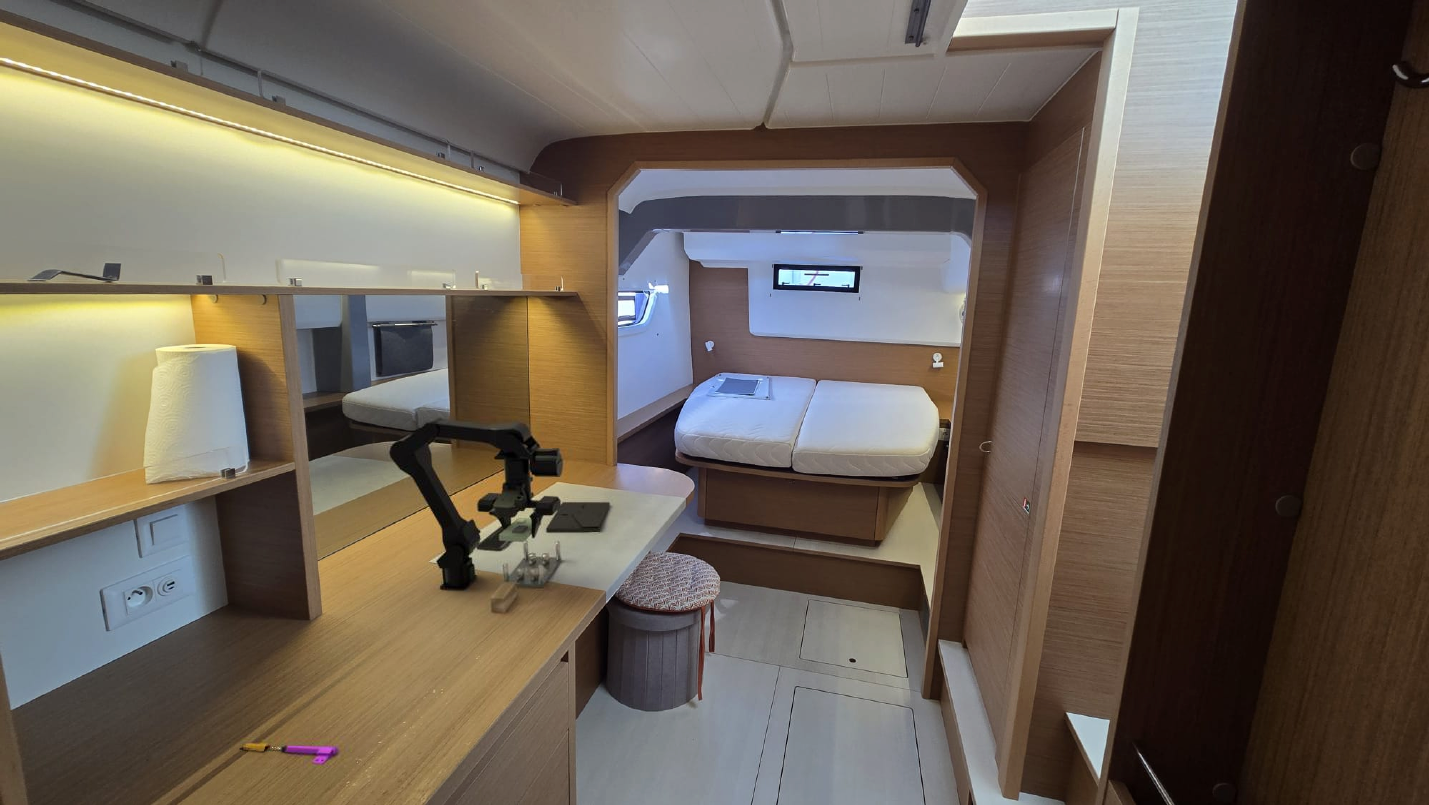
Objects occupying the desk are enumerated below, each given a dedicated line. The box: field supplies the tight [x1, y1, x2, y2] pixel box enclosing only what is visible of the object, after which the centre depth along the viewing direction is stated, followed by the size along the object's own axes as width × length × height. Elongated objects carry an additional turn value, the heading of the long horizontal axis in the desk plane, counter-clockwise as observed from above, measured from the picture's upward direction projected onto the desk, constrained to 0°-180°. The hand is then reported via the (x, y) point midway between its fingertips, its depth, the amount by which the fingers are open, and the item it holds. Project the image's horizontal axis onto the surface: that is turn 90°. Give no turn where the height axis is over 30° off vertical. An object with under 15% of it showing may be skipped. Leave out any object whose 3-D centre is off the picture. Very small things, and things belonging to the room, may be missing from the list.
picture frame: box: [545, 501, 611, 534], centre depth 177 cm, size 16×3×21 cm
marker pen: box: [244, 742, 339, 765], centre depth 87 cm, size 3×1×16 cm
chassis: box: [502, 539, 562, 589], centre depth 143 cm, size 10×14×6 cm
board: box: [499, 517, 542, 543], centre depth 135 cm, size 6×10×2 cm, turn 174°
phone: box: [476, 525, 513, 552], centre depth 162 cm, size 8×1×15 cm
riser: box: [490, 581, 517, 613], centre depth 129 cm, size 3×7×4 cm, turn 177°
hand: (521, 536), depth 135 cm, fingers closed on board, 6 cm apart
